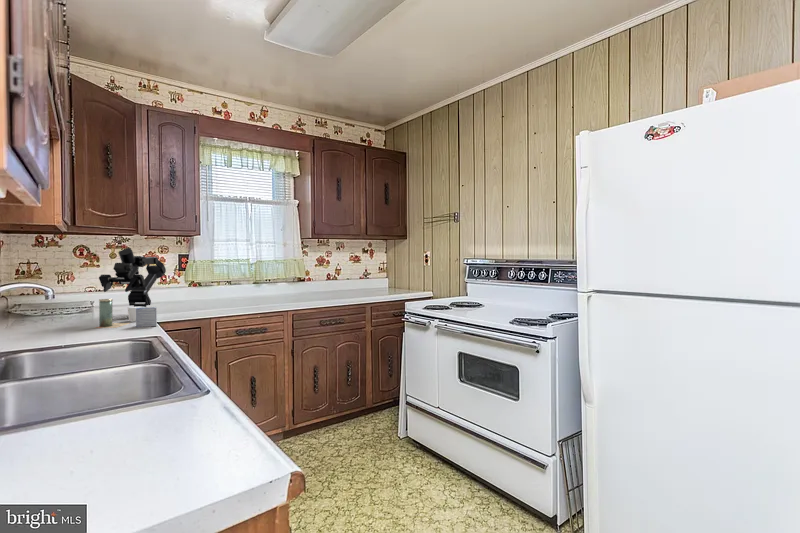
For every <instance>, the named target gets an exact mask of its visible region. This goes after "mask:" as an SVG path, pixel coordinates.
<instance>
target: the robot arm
mask: <svg viewBox="0 0 800 533" xmlns="http://www.w3.org/2000/svg"><path fill="white" fill-rule="evenodd" d="M118 255H119V258H120V261H121V262H115V264H114V266H113V268H112V270H114V272H115V274H114V276H115V277H113V276H111V274H100V275H99V277H98V279H99V283H100V285H101V287H102V288H103V290H102V291H103V292H104V293H105V292H107V291H109V290H110V289H111V288H112V287H113V285H114V283H119V285H127V286H126V287H125V289H124V292H126V293H128V292H129V291H130V292H129V294H128V297H127V301H128V305H129V306H128V307H132V306H133V307H135V306H142V307H147V306H151V304H152V300H151V298H150V296H149V291H150V290H151V289H152V287H153V285H154V284H155V282H156V281H157V279H160V278H163V277H164V275H165V274H166V272H167V271H166V270H167V268H166V266H165V264H164V262H162V261H161V260H159V258H158V257H157V256H148V257H147V256H144V255H134V251H133V250H132V248H131V247H126V249H125V248H124V249H122V250H119V251H118ZM144 267H145V269H146V272H147V276H145V277H144V275H143V274H140V272H139V271H140V270H139V269H140V268H144Z"/></svg>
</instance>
